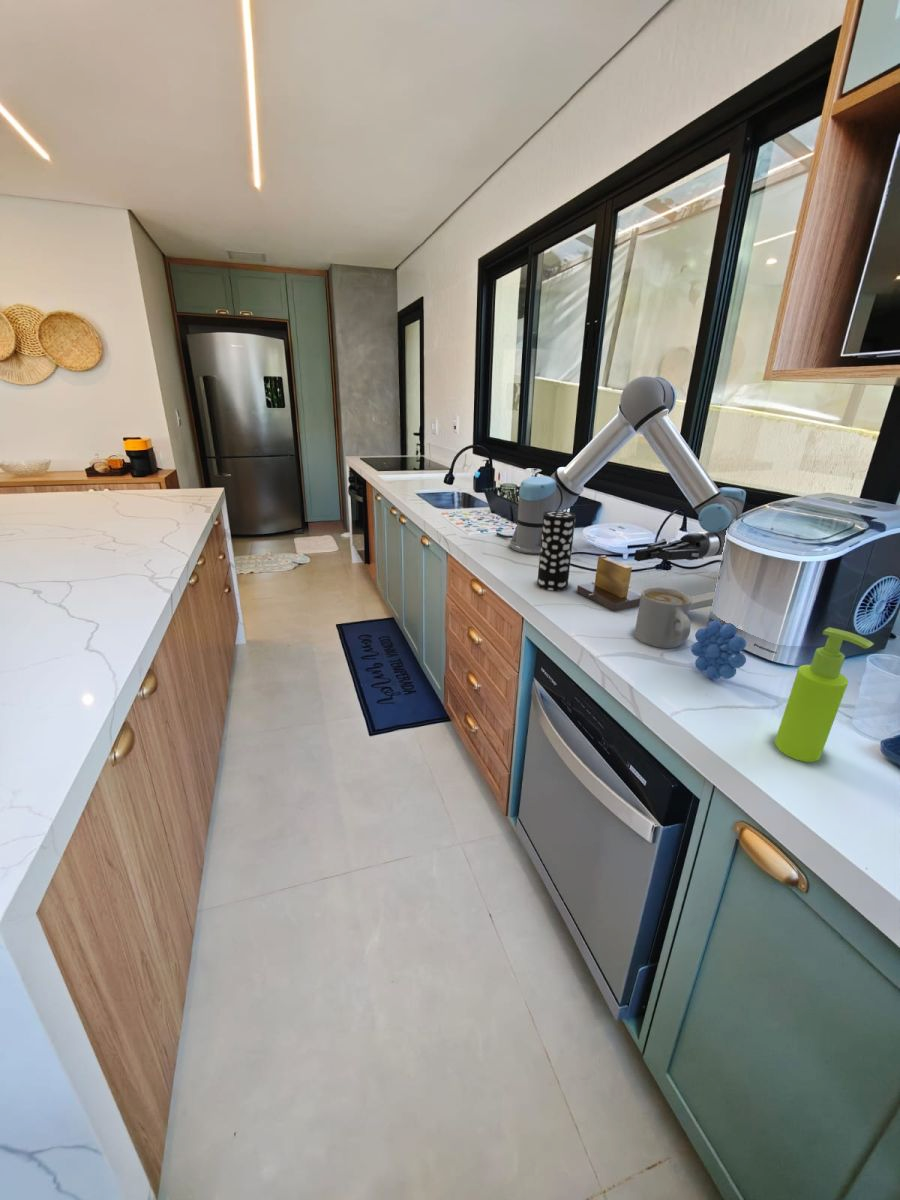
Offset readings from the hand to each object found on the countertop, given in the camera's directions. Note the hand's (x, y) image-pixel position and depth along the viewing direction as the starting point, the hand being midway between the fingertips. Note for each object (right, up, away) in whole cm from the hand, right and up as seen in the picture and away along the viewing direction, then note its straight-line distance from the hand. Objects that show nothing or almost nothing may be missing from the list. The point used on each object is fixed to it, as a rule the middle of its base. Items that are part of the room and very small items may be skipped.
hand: (637, 555), depth 135 cm
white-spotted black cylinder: (-22, -8, +6) cm, 24 cm away
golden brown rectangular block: (-8, -10, -3) cm, 13 cm away
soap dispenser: (+3, -35, -58) cm, 68 cm away
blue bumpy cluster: (0, -27, -39) cm, 47 cm away
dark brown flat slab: (-8, -11, -3) cm, 14 cm away
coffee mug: (-4, -21, -25) cm, 33 cm away
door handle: (+15, -16, -11) cm, 24 cm away
